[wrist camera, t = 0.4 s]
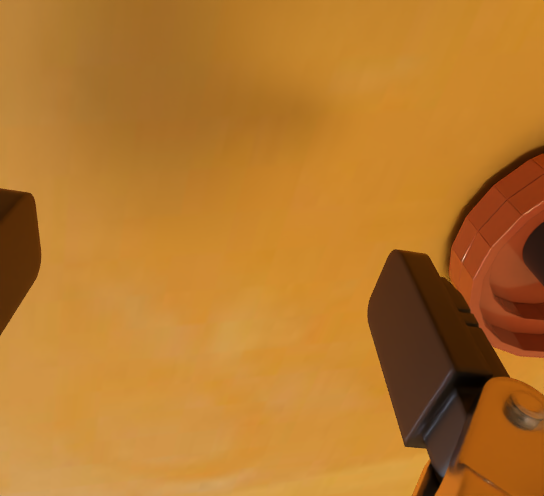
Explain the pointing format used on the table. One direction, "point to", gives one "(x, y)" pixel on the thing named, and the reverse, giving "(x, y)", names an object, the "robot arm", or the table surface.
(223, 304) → the table surface
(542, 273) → the flask
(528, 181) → the bowl
